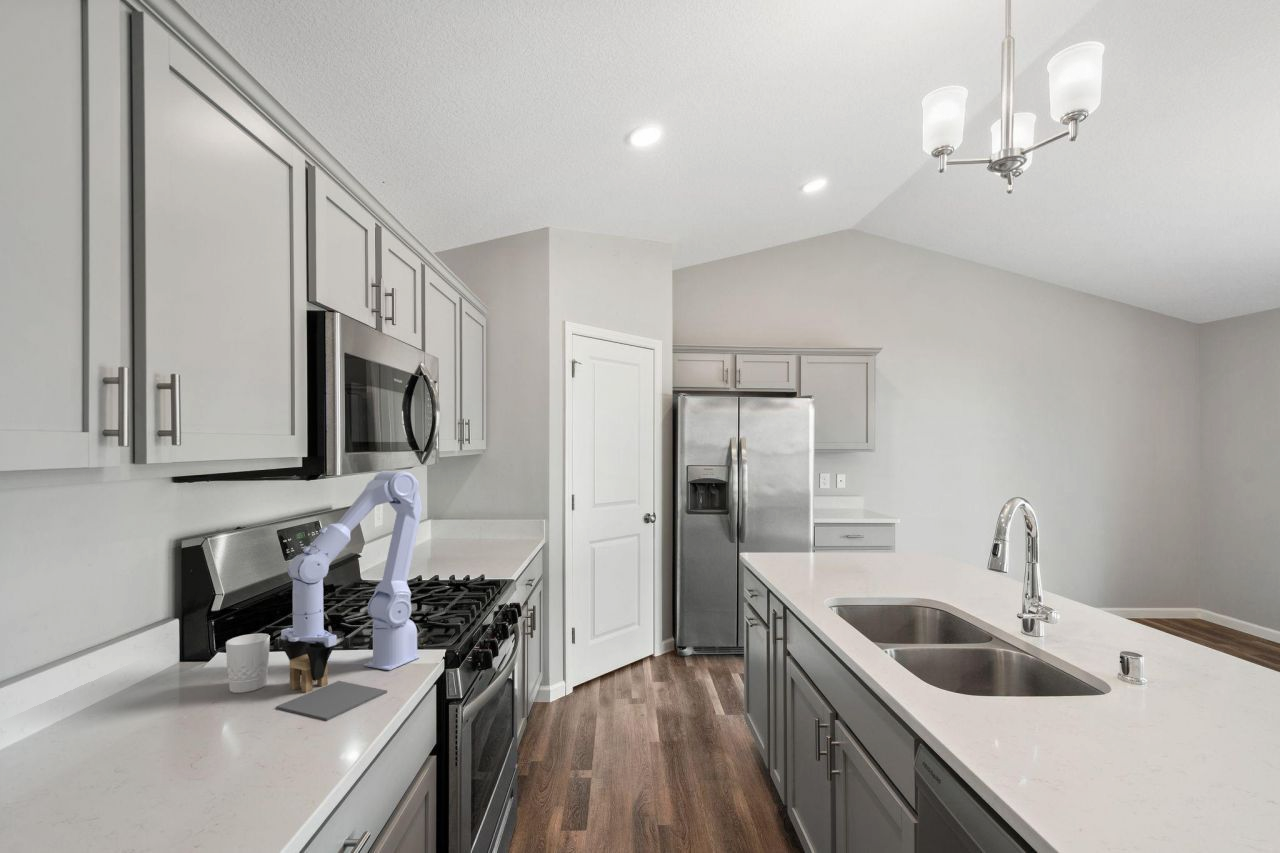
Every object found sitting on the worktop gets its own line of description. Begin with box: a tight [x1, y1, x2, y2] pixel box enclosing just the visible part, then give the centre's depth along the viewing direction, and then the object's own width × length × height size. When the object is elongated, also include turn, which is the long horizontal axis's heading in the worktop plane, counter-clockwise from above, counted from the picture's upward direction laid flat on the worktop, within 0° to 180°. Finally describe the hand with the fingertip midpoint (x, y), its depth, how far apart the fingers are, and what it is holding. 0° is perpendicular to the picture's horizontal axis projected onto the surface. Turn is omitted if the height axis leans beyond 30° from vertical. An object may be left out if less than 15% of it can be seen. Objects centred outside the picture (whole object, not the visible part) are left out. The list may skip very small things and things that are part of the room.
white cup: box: [225, 633, 271, 694], centre depth 133 cm, size 8×8×10 cm
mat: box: [276, 680, 388, 721], centre depth 125 cm, size 14×14×1 cm
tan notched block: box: [289, 654, 329, 694], centre depth 132 cm, size 5×5×6 cm
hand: (308, 676), depth 132 cm, fingers closed on tan notched block, 5 cm apart
